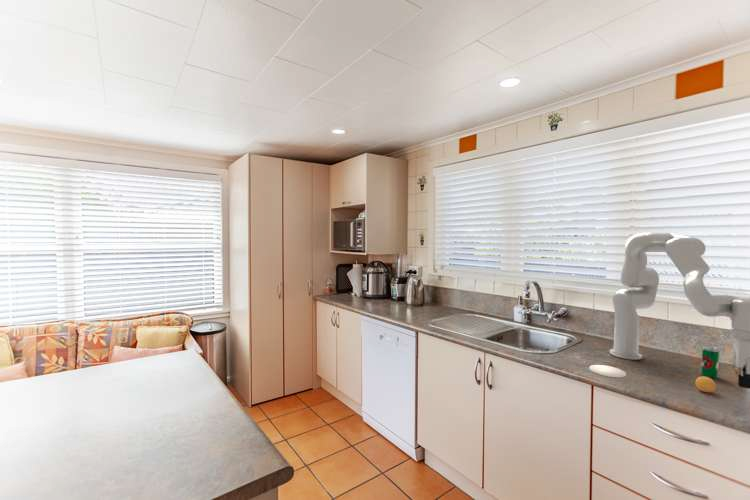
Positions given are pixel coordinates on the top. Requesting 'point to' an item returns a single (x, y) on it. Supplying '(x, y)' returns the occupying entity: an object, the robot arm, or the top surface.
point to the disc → (607, 371)
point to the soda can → (710, 361)
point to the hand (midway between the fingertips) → (745, 387)
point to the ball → (705, 384)
